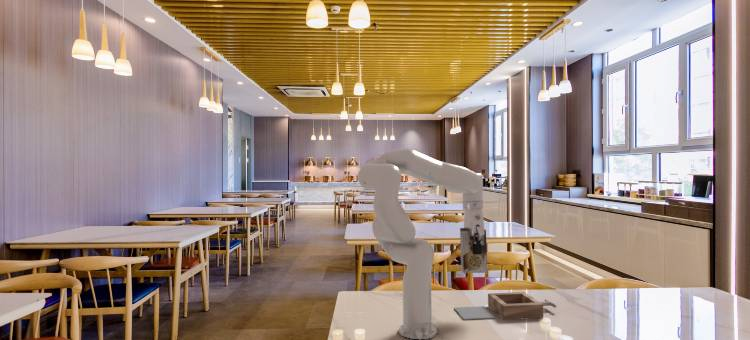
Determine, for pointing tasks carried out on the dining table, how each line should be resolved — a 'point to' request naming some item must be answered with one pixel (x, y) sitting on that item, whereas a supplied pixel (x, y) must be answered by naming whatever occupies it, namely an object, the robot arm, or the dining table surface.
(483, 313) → the mat
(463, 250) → the coffee box
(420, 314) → the robot arm
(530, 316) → the open brown box
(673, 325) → the dining table surface
